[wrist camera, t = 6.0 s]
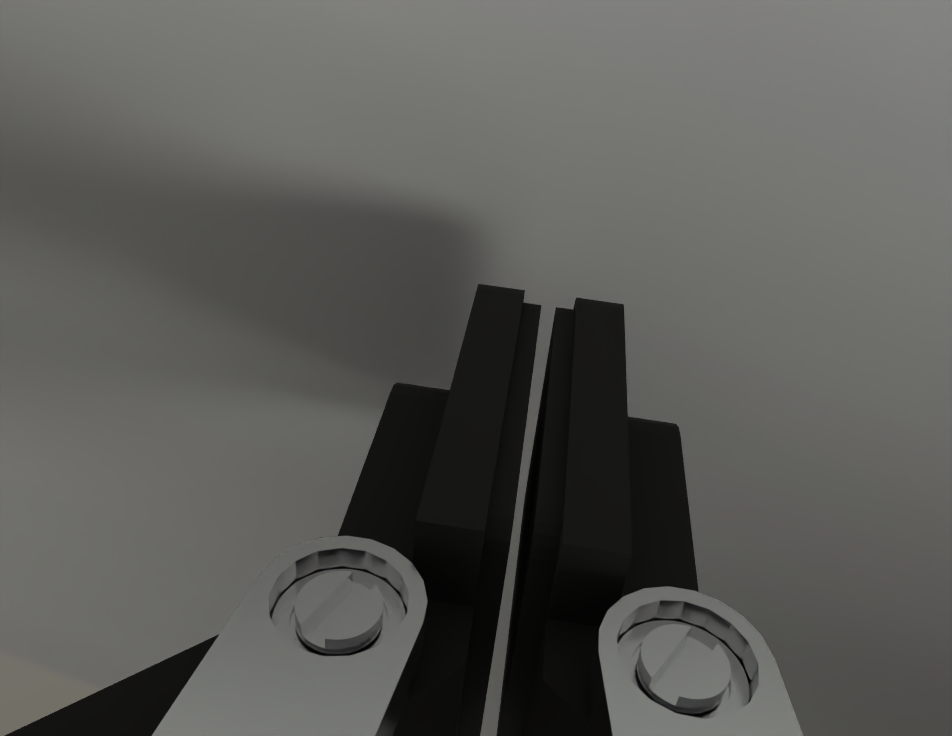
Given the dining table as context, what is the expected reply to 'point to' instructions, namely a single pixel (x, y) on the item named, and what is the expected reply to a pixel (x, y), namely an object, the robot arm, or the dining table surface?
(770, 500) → the dining table surface
